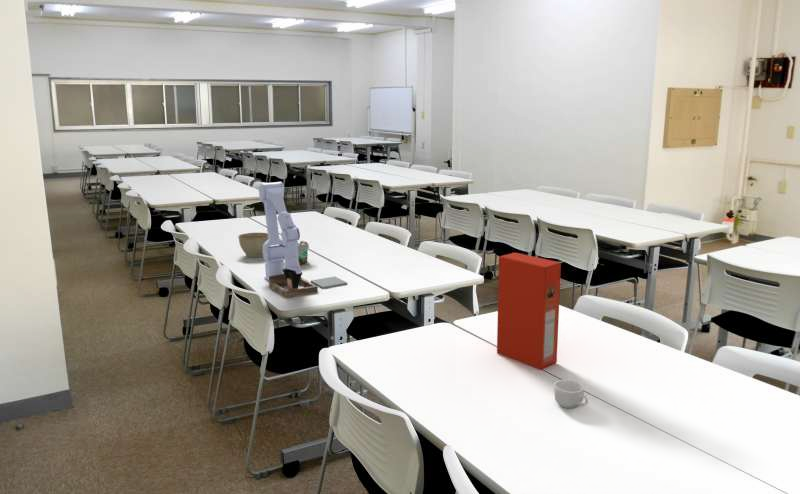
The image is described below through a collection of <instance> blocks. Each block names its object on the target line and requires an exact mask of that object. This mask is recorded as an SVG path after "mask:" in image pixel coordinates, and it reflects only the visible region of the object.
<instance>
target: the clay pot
mask: <svg viewBox="0 0 800 494" xmlns="http://www.w3.org/2000/svg"><path fill="white" fill-rule="evenodd" d="M286 286H287V291H289V290H295V289H300V288H299V285H298V288H293V287H292V281H291V278H290V277H289V278H287V285H286Z"/></svg>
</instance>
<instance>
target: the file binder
mask: <svg viewBox="0 0 800 494" xmlns="http://www.w3.org/2000/svg"><path fill="white" fill-rule="evenodd" d="M561 268H562V263H561V262H559V261H555V260H551V259H546V258H542V257H537V256H533V255H529V254H524V253H519V252H512V253H508V254H504V255H500V256H498V278H497V279H498V281H497V285H498V287H497V331H496V332H497V333H496V334H497V337H496V338H497V340H496V354H498V355H500V356H503V357H506V358H508V359H511V360H513V361H515V362H517V363H522V364H525V365H527V366H529V367H533V368H534V369H537V370H540V371H543V370H545V369H547V368H550V367H551V366H554V365H556V363H557V362H558V344H559V343H558V342H559V341H558V339H559V315H560V314H559V313H560V296H561V295H560V294H561V274H562V273H561V271H562V269H561Z"/></svg>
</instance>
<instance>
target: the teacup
mask: <svg viewBox="0 0 800 494" xmlns="http://www.w3.org/2000/svg"><path fill="white" fill-rule="evenodd" d="M553 393H554V394H553V395H554V400H555V402H556V403H557V404H558V405H559V406H561V407H562V408H565V409H575V408H578V407H579V406H586V405H588V404H589V399H588V397H587V396H586V395H584V394H585V385H583V384H582V383H581V382H579V381H576V380H572V379H560V380H559V379H558V380H556V381H555V382H554V383H553ZM583 400H585V403H583Z"/></svg>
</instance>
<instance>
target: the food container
mask: <svg viewBox="0 0 800 494" xmlns="http://www.w3.org/2000/svg"><path fill="white" fill-rule="evenodd" d="M299 241H300V242H299V243H298V259H299V266H304V265H307V264H308V251H309V250H308V249H309V248H310V246H309V243H308V242H307V241H304V240H299Z"/></svg>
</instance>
